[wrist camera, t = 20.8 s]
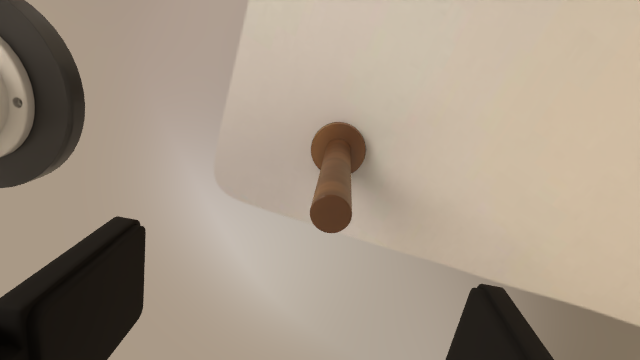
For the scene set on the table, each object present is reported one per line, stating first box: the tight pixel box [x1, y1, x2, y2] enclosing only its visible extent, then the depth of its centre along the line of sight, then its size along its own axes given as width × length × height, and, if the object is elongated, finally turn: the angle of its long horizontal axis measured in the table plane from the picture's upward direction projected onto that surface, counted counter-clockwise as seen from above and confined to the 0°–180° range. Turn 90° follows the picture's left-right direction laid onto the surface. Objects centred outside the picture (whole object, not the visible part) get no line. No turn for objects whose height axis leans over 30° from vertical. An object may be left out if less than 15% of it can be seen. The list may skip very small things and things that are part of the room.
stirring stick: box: [310, 122, 366, 233], centre depth 24 cm, size 4×4×14 cm
